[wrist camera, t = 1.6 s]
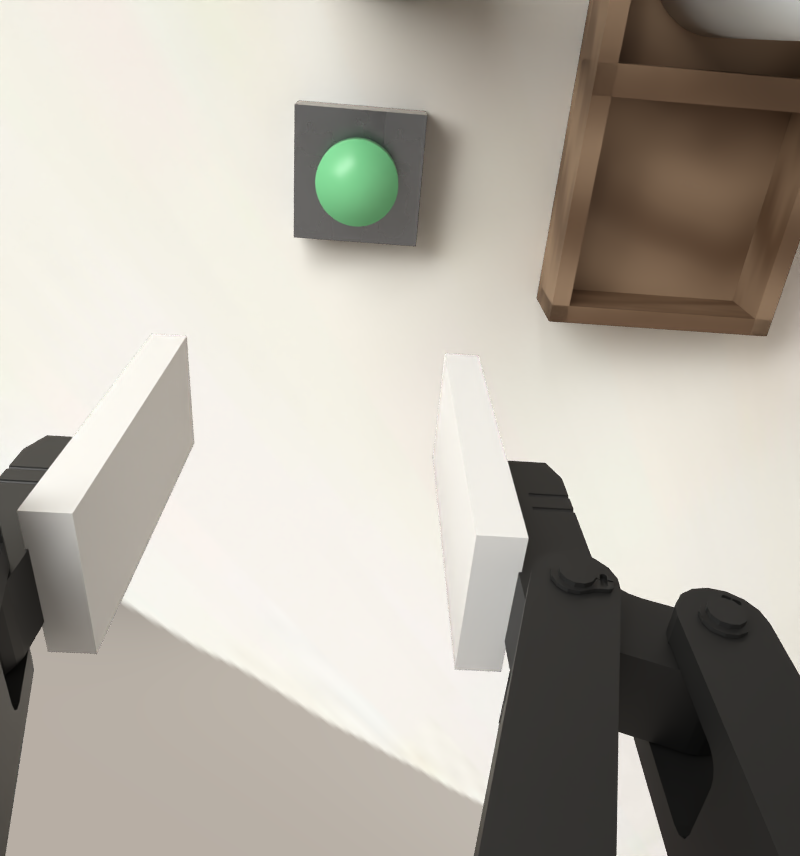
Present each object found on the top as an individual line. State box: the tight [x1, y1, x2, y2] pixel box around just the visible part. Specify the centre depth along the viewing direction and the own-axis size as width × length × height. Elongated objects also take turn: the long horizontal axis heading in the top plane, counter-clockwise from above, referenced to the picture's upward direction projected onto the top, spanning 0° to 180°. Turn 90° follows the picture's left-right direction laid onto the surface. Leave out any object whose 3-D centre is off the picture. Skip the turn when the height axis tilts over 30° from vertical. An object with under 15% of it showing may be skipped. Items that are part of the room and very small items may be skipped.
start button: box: [315, 137, 398, 227], centre depth 40 cm, size 4×4×3 cm
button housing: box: [294, 101, 427, 246], centre depth 41 cm, size 7×7×2 cm
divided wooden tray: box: [537, 0, 800, 336], centre depth 38 cm, size 26×13×4 cm, turn 175°
